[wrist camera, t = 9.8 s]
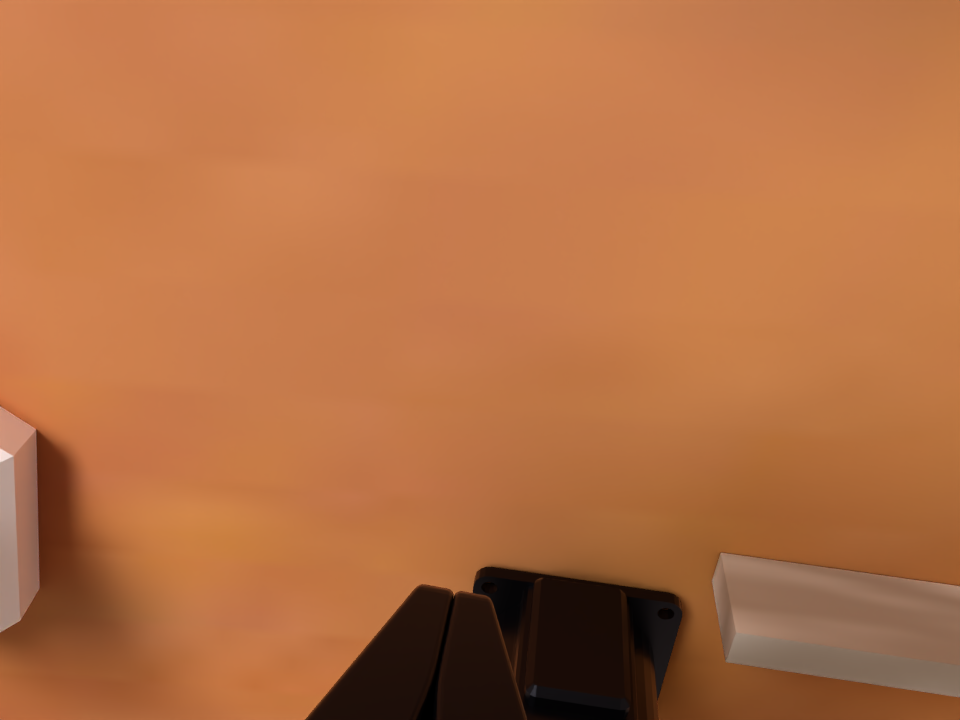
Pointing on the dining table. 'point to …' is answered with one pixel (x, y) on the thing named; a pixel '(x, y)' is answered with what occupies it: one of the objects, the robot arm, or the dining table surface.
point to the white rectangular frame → (839, 623)
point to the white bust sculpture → (17, 518)
